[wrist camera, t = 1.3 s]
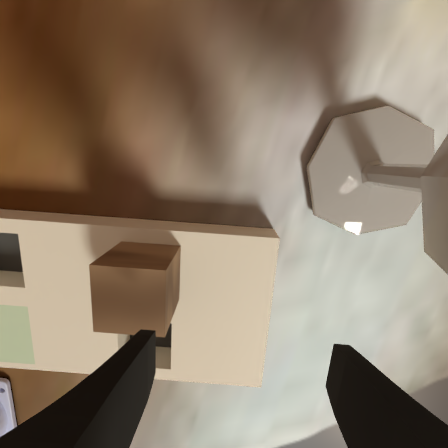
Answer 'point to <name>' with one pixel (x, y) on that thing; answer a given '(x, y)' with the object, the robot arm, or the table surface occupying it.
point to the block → (135, 288)
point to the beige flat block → (110, 343)
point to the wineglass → (382, 176)
